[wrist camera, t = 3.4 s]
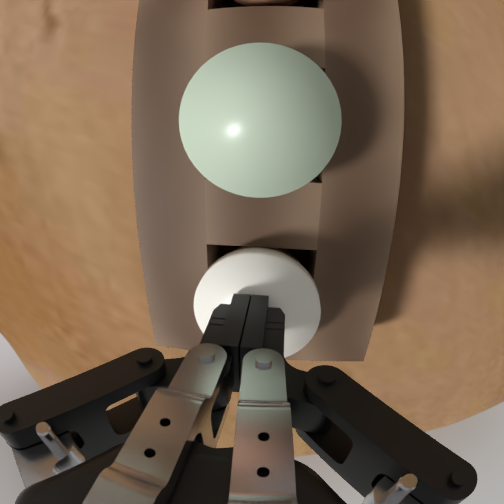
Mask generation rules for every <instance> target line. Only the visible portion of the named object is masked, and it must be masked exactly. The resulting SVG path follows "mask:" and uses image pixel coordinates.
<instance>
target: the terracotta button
mask: <svg viewBox="0 0 504 504" xmlns="http://www.w3.org/2000/svg"><path fill="white" fill-rule="evenodd" d="M234 1H236V2H237V3H239V4H241V5H244V6H247V7H249V6H289V5H291V4H293V3H296V2H297V1H299V0H234Z"/></svg>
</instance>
